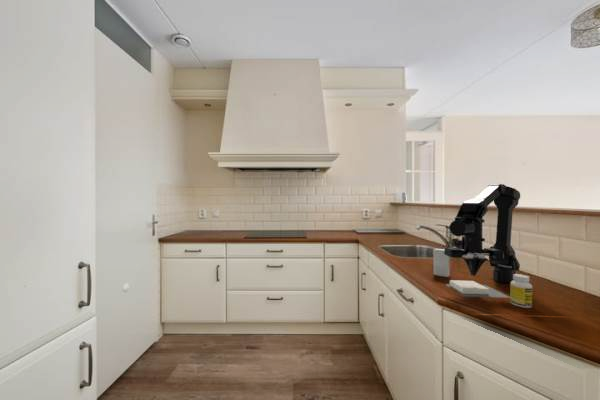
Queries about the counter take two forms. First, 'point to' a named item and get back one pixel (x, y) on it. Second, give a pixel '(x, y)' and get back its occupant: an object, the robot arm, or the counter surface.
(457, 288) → the tile
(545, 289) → the counter surface
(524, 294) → the supplement bottle
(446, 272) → the skincare box
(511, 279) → the robot arm
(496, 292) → the mat
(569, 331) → the counter surface
